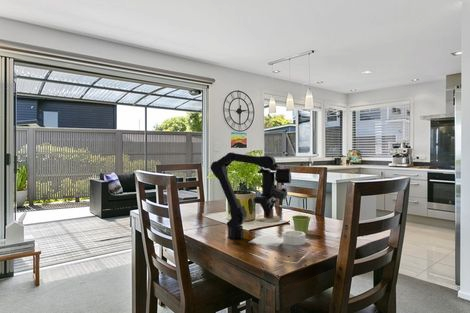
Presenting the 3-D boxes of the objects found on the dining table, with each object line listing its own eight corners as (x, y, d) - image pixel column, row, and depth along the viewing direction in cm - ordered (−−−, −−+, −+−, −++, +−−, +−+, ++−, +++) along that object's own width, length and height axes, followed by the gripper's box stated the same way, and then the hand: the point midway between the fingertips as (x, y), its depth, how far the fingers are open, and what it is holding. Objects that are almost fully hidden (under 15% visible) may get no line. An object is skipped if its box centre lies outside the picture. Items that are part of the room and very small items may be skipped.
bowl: (279, 244, 138) (279, 234, 138) (287, 238, 146) (287, 229, 146) (301, 247, 133) (301, 237, 133) (307, 241, 141) (307, 232, 141)
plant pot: (313, 236, 151) (313, 218, 151) (295, 237, 150) (295, 219, 150) (306, 231, 161) (306, 215, 161) (289, 232, 159) (289, 215, 159)
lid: (252, 221, 139) (252, 209, 139) (262, 216, 149) (262, 206, 149) (275, 223, 134) (275, 211, 134) (284, 219, 143) (284, 208, 143)
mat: (248, 243, 139) (248, 242, 139) (261, 236, 151) (261, 235, 151) (276, 248, 132) (276, 246, 132) (287, 240, 144) (287, 238, 144)
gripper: (276, 185, 129) (277, 222, 129) (291, 181, 145) (291, 214, 146) (253, 184, 135) (253, 219, 135) (270, 181, 151) (270, 212, 151)
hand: (268, 216), depth 141 cm, fingers closed on lid
